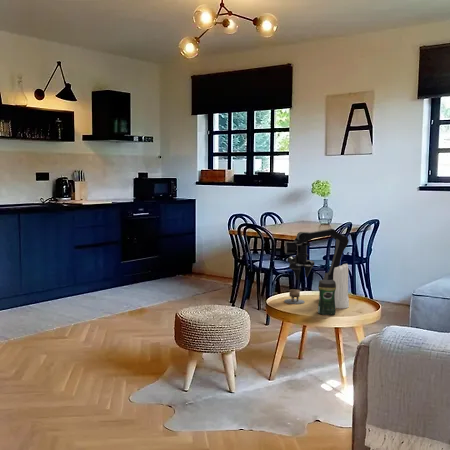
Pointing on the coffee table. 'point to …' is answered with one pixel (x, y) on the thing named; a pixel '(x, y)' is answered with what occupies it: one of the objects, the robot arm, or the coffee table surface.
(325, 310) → the coffee jar
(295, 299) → the felt mat
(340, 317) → the coffee table surface
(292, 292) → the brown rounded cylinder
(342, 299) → the decorative vase
